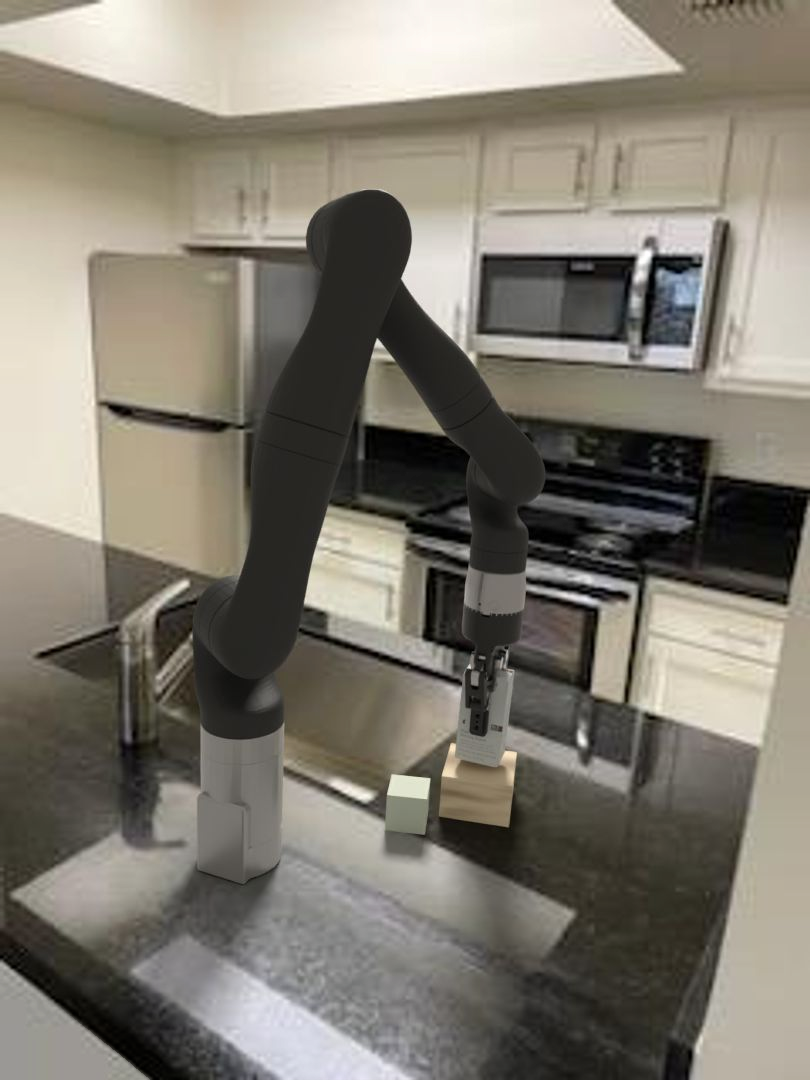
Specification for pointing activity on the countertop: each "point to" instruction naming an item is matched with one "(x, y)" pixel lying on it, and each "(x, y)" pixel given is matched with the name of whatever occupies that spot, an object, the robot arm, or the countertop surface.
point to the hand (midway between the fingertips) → (483, 726)
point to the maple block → (477, 790)
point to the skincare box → (494, 742)
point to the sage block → (407, 804)
